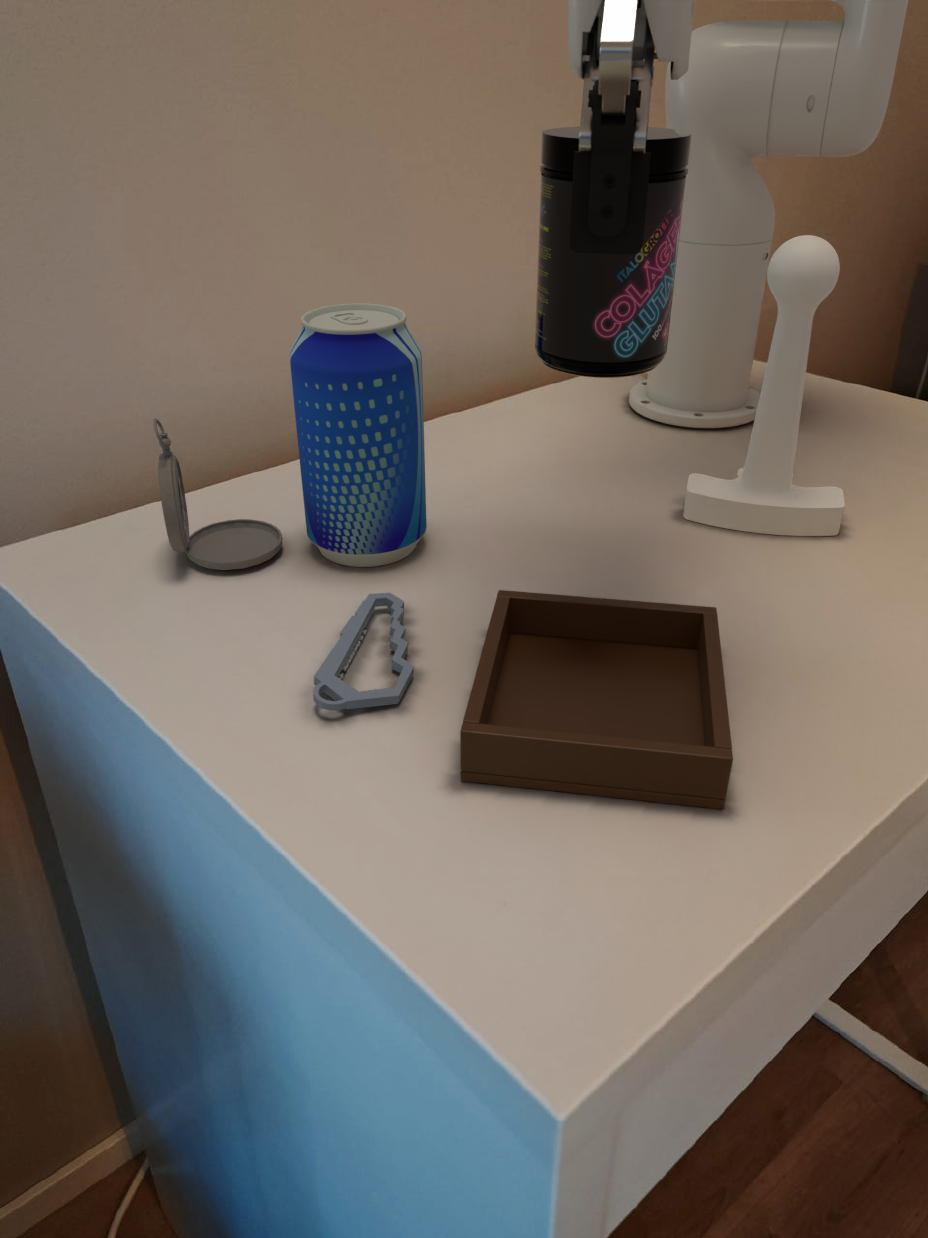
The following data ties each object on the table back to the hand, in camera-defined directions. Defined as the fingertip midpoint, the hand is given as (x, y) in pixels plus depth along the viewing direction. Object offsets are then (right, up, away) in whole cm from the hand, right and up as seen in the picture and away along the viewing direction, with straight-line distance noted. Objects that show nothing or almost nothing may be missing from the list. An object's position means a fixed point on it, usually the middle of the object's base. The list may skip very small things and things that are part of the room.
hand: (609, 233), depth 46 cm
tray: (0, -23, +6) cm, 24 cm away
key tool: (-12, -21, +10) cm, 26 cm away
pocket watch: (-24, -14, +22) cm, 35 cm away
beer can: (-14, -13, +23) cm, 30 cm away
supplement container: (0, -5, +3) cm, 6 cm away
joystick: (+15, -10, +27) cm, 33 cm away
